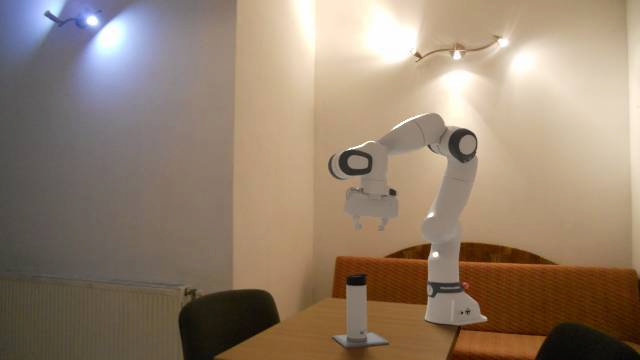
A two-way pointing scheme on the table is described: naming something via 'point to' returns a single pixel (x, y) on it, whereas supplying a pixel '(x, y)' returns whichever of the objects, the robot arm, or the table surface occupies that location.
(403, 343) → the table surface
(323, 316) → the table surface
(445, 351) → the table surface
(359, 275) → the travel mug
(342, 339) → the felt pad
